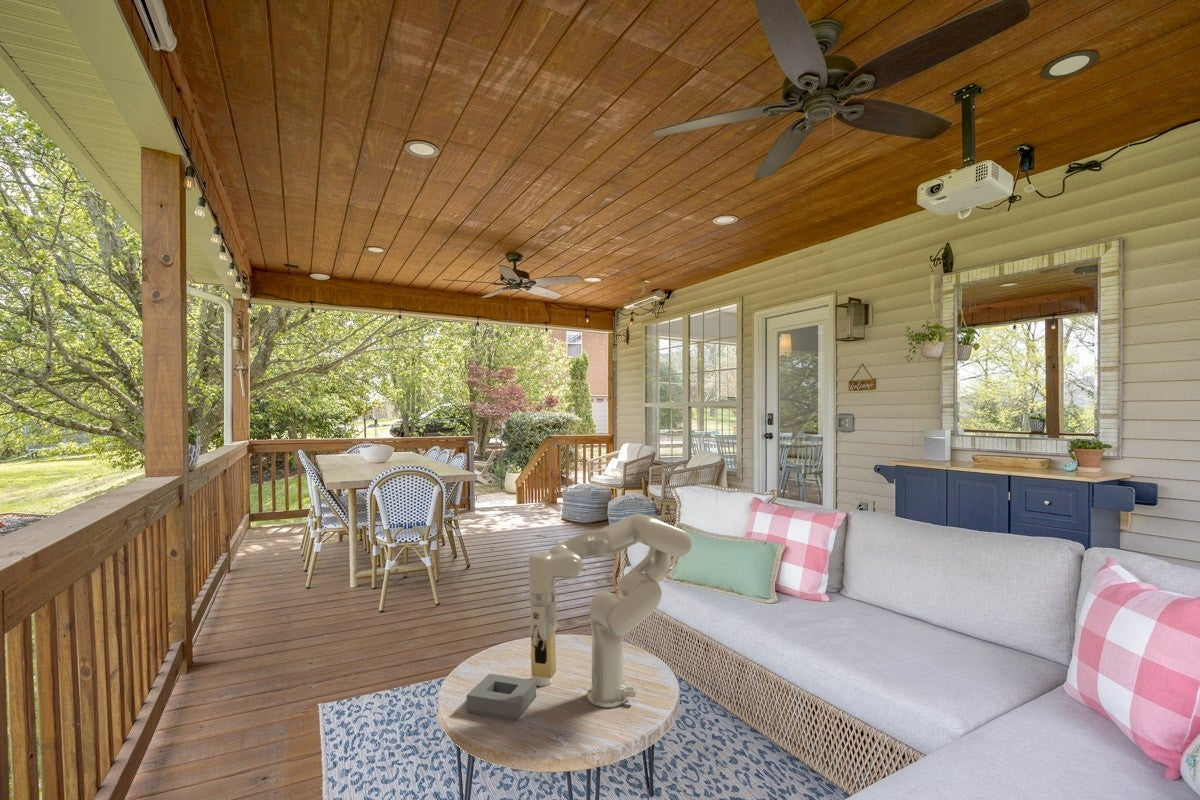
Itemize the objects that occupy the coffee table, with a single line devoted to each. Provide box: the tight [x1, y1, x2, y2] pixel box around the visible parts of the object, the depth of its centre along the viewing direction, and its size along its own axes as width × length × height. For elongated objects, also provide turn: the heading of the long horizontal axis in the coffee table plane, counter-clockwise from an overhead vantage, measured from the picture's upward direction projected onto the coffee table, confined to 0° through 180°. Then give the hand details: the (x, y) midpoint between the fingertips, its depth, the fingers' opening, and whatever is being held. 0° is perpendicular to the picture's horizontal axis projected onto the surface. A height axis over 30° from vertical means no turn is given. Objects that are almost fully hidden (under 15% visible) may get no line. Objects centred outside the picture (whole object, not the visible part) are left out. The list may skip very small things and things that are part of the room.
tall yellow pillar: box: [530, 631, 557, 678], centre depth 161 cm, size 6×4×12 cm, turn 74°
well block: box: [465, 673, 537, 722], centre depth 165 cm, size 16×14×5 cm
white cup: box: [530, 665, 554, 687], centre depth 180 cm, size 8×8×10 cm
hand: (543, 658), depth 161 cm, fingers closed on tall yellow pillar, 4 cm apart
